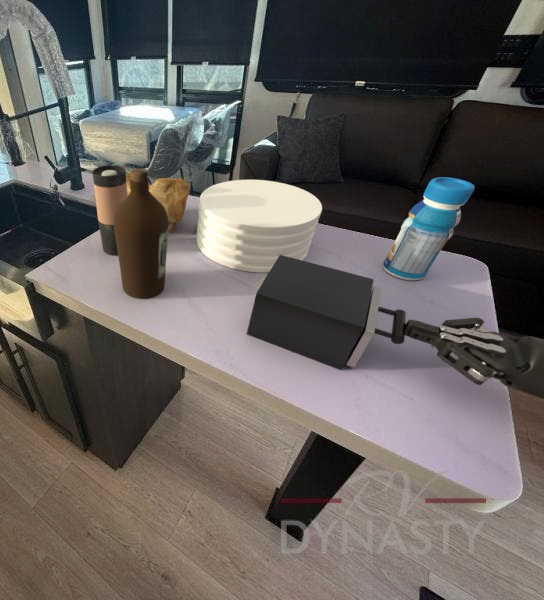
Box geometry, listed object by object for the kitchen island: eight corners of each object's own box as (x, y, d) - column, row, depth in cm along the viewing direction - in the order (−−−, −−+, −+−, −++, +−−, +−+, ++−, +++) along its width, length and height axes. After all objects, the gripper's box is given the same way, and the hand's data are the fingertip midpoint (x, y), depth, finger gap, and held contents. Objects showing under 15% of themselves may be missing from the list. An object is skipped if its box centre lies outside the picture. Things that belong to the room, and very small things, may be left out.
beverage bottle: (396, 283, 71) (448, 192, 58) (373, 261, 77) (415, 176, 64) (434, 280, 71) (494, 190, 58) (408, 259, 77) (457, 174, 65)
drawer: (390, 330, 59) (412, 296, 54) (385, 379, 51) (409, 344, 46) (282, 296, 67) (292, 264, 62) (263, 334, 59) (273, 300, 54)
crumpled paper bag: (208, 224, 96) (214, 171, 88) (176, 243, 85) (179, 185, 77) (146, 208, 108) (146, 160, 100) (111, 223, 97) (108, 170, 89)
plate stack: (332, 263, 77) (350, 217, 70) (220, 280, 73) (227, 234, 66) (272, 213, 99) (281, 175, 91) (183, 225, 95) (185, 185, 87)
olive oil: (115, 299, 69) (102, 181, 54) (124, 271, 78) (115, 161, 62) (165, 302, 68) (167, 182, 52) (169, 273, 76) (171, 162, 60)
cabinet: (352, 320, 62) (373, 279, 56) (340, 370, 54) (364, 327, 47) (269, 294, 69) (279, 254, 63) (246, 334, 60) (256, 292, 54)
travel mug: (136, 245, 87) (132, 168, 74) (120, 259, 82) (112, 178, 69) (113, 238, 90) (105, 163, 77) (96, 251, 85) (84, 173, 72)
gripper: (569, 324, 45) (418, 285, 53) (602, 394, 37) (416, 336, 44) (530, 359, 50) (396, 319, 57) (551, 429, 41) (391, 371, 49)
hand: (405, 326), depth 51 cm, fingers closed
